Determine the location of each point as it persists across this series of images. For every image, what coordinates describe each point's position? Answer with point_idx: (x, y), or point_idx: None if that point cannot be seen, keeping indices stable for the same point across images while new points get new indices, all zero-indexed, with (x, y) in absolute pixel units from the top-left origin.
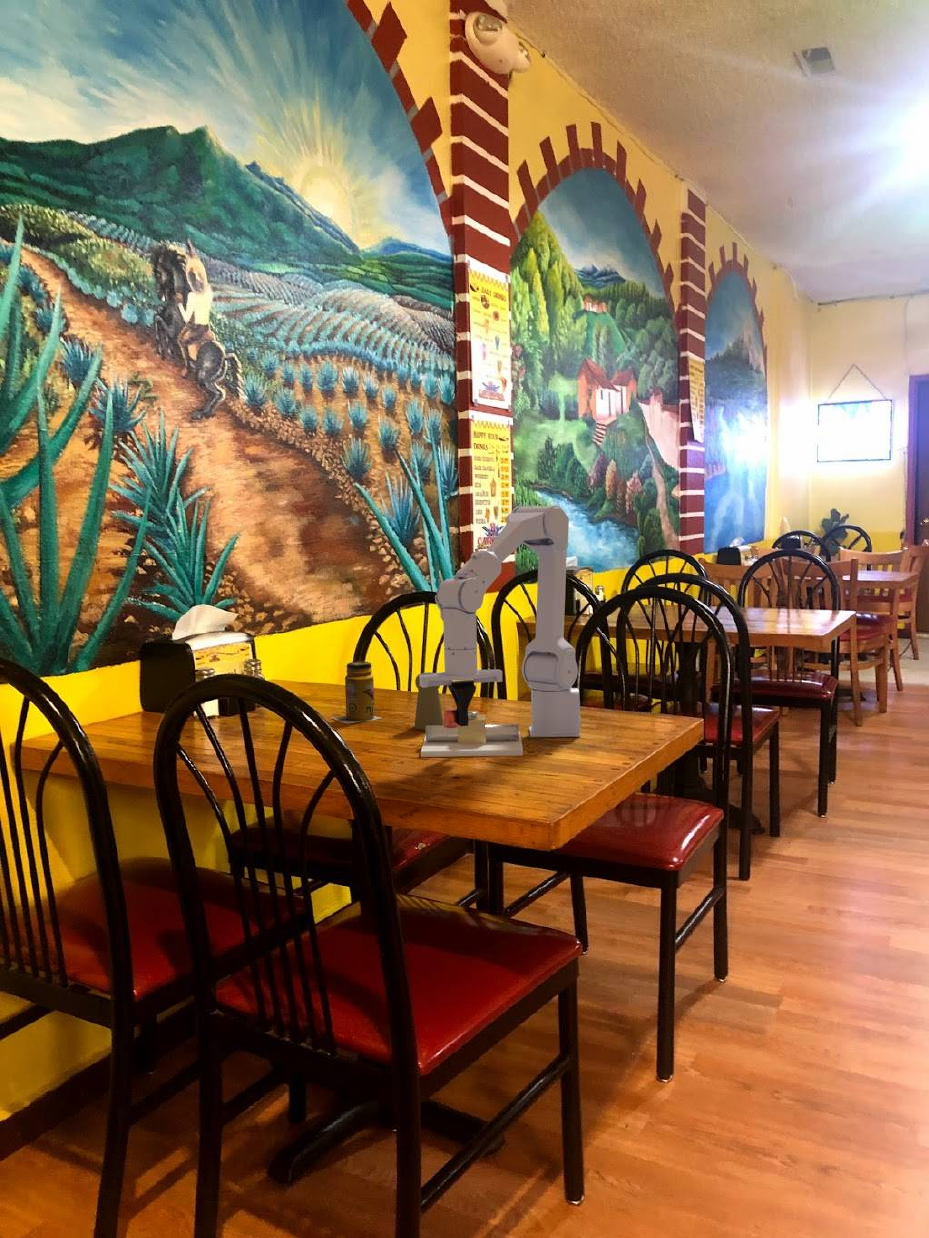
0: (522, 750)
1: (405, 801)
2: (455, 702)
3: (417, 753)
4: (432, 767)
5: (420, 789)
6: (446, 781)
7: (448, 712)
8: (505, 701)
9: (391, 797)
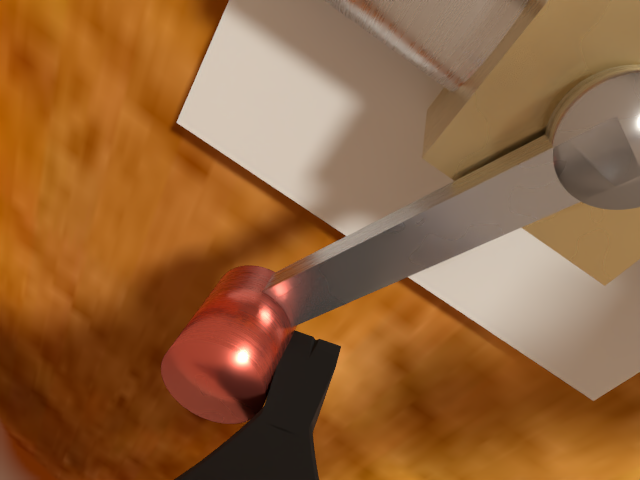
0: (592, 397)
1: (30, 453)
2: (236, 436)
3: (200, 29)
4: (176, 284)
5: (78, 420)
6: (160, 416)
7: (183, 395)
8: None
9: (4, 419)
